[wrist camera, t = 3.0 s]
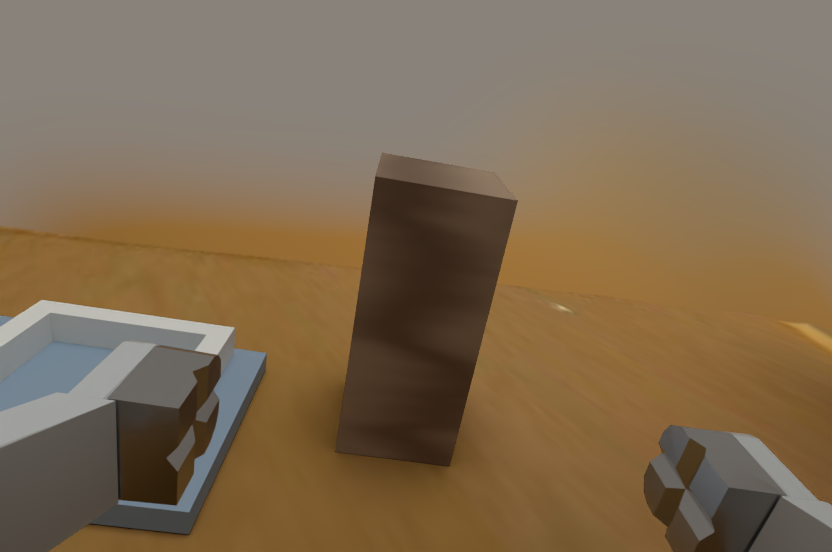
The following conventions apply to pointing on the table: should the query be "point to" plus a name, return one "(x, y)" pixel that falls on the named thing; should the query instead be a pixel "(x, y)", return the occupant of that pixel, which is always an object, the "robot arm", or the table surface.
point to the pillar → (422, 307)
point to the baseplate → (88, 346)
